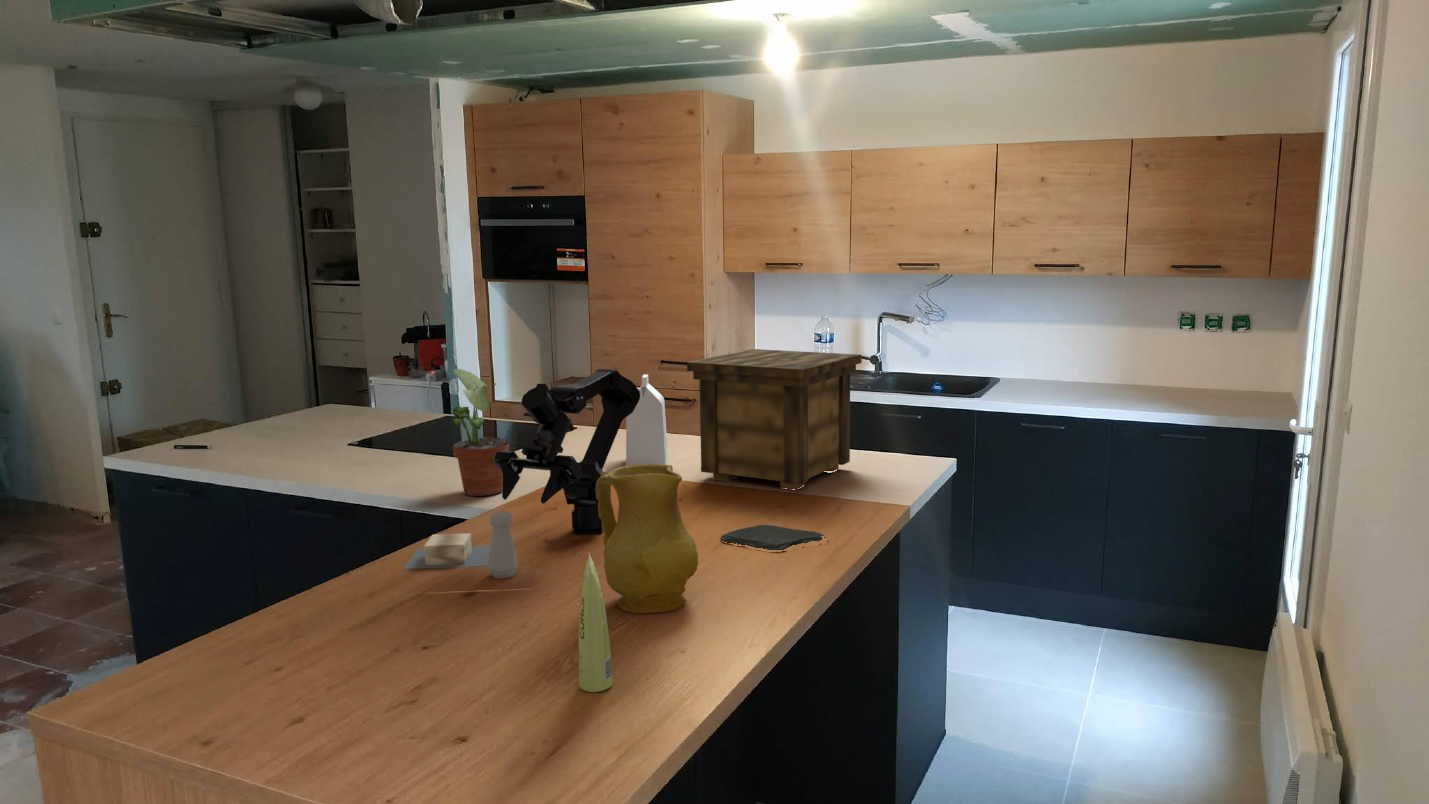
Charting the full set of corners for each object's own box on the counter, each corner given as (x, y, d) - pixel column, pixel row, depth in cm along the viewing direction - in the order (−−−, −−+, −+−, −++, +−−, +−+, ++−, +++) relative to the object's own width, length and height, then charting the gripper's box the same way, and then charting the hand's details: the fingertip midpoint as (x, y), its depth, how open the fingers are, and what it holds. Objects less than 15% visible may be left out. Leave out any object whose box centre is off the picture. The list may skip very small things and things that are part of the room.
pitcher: (626, 624, 171) (623, 480, 168) (588, 596, 187) (584, 464, 185) (715, 609, 178) (713, 470, 176) (671, 583, 195) (669, 456, 192)
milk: (665, 467, 290) (663, 378, 285) (626, 467, 290) (623, 379, 286) (668, 458, 302) (666, 372, 297) (630, 458, 302) (627, 373, 297)
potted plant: (441, 498, 259) (432, 364, 253) (476, 484, 273) (468, 357, 267) (491, 503, 253) (484, 366, 247) (524, 488, 267) (518, 358, 261)
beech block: (471, 551, 213) (470, 533, 212) (464, 563, 205) (463, 544, 204) (433, 552, 212) (432, 534, 212) (425, 564, 204) (424, 546, 204)
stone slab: (718, 555, 210) (718, 546, 209) (721, 532, 226) (721, 523, 226) (832, 555, 209) (832, 545, 208) (826, 531, 225) (826, 523, 225)
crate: (689, 480, 273) (687, 362, 268) (754, 456, 302) (753, 349, 297) (803, 496, 254) (803, 369, 249) (860, 469, 283) (861, 354, 278)
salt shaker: (511, 582, 194) (508, 517, 192) (483, 580, 195) (480, 516, 193) (522, 572, 200) (519, 509, 198) (496, 570, 201) (492, 508, 199)
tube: (569, 686, 148) (563, 559, 145) (594, 674, 152) (589, 551, 149) (595, 696, 145) (590, 567, 142) (620, 684, 149) (616, 558, 145)
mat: (503, 546, 217) (503, 544, 217) (493, 567, 203) (492, 565, 203) (419, 549, 216) (419, 547, 216) (403, 570, 202) (403, 568, 202)
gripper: (495, 412, 208) (466, 475, 200) (573, 417, 201) (545, 483, 193) (519, 442, 217) (491, 504, 208) (594, 448, 209) (568, 512, 201)
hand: (522, 500), depth 203 cm, fingers open, 9 cm apart
